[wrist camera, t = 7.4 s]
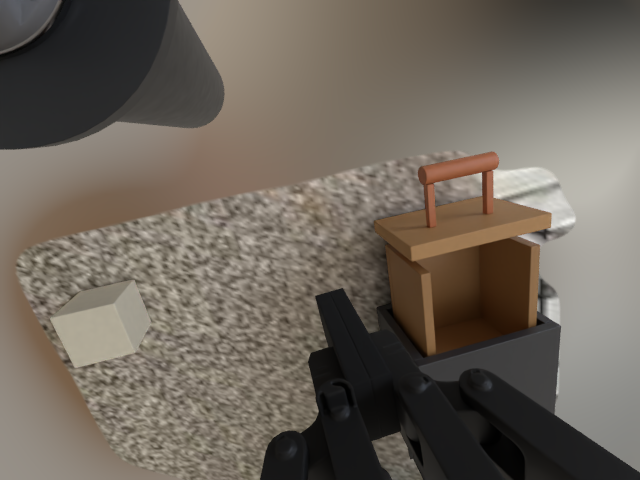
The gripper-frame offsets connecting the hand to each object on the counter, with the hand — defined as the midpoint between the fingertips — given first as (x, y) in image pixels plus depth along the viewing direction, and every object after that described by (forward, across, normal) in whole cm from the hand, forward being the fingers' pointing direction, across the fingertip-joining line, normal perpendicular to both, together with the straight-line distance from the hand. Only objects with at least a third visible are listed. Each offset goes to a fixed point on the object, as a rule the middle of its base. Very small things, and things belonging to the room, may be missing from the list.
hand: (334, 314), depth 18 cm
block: (+14, -17, -2) cm, 23 cm away
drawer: (+13, +12, -5) cm, 19 cm away
